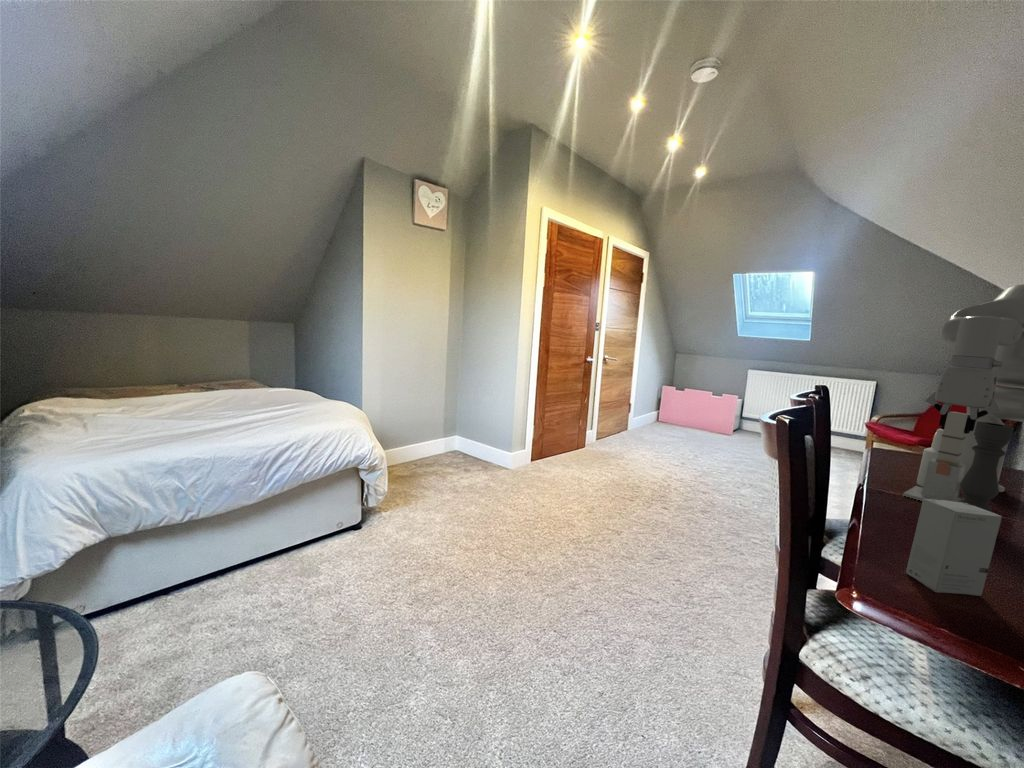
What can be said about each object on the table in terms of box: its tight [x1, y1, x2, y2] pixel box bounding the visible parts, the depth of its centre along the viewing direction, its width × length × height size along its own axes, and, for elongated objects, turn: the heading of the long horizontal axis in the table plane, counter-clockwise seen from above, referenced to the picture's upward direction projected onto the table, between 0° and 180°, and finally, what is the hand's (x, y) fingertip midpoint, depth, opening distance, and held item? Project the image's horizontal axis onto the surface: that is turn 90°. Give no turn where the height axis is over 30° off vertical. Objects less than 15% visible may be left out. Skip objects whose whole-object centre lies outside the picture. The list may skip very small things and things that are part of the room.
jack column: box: [936, 411, 970, 467], centre depth 111 cm, size 4×4×18 cm
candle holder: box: [957, 422, 1015, 513], centre depth 97 cm, size 6×6×25 cm
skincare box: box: [905, 499, 1003, 597], centre depth 72 cm, size 8×6×15 cm
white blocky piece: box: [902, 458, 966, 502], centre depth 113 cm, size 12×12×12 cm
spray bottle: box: [916, 428, 944, 488], centre depth 123 cm, size 7×7×18 cm
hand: (955, 430), depth 110 cm, fingers closed on jack column, 3 cm apart
